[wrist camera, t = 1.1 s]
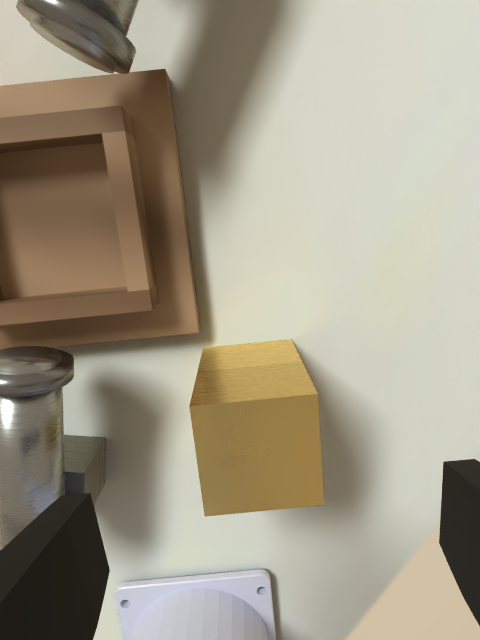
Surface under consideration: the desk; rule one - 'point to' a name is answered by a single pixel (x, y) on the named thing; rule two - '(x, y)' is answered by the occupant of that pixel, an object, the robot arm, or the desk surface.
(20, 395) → the shaft
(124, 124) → the socket
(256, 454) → the rectangular peg
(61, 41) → the shaft
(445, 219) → the desk surface
